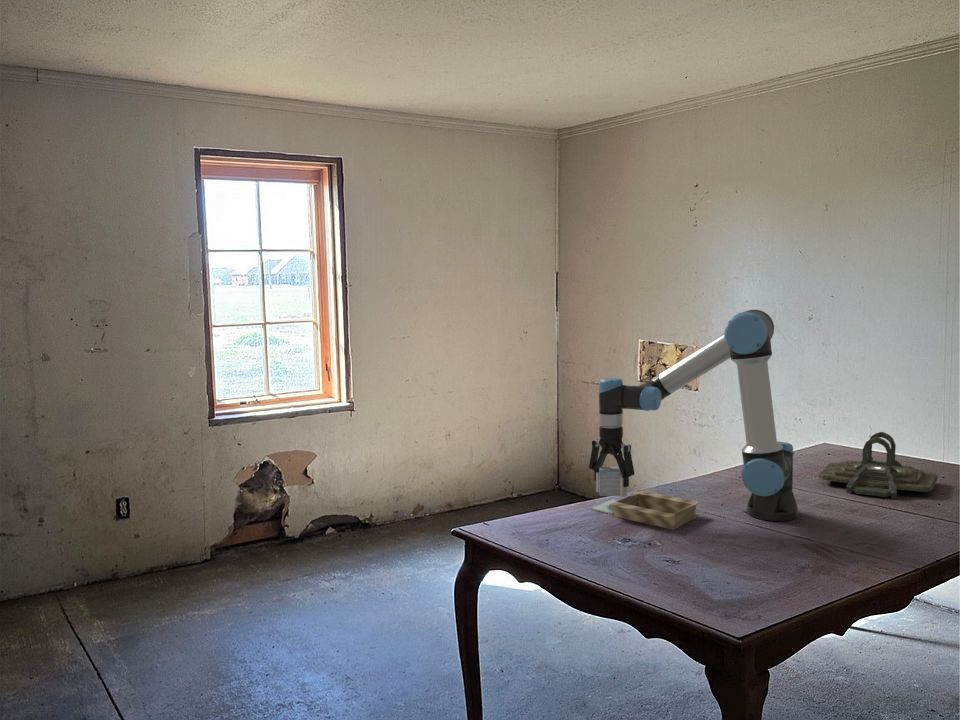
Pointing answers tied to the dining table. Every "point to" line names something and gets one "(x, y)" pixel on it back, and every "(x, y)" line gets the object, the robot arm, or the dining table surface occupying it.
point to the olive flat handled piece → (879, 473)
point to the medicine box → (609, 481)
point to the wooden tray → (656, 509)
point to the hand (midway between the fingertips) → (611, 493)
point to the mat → (605, 507)
